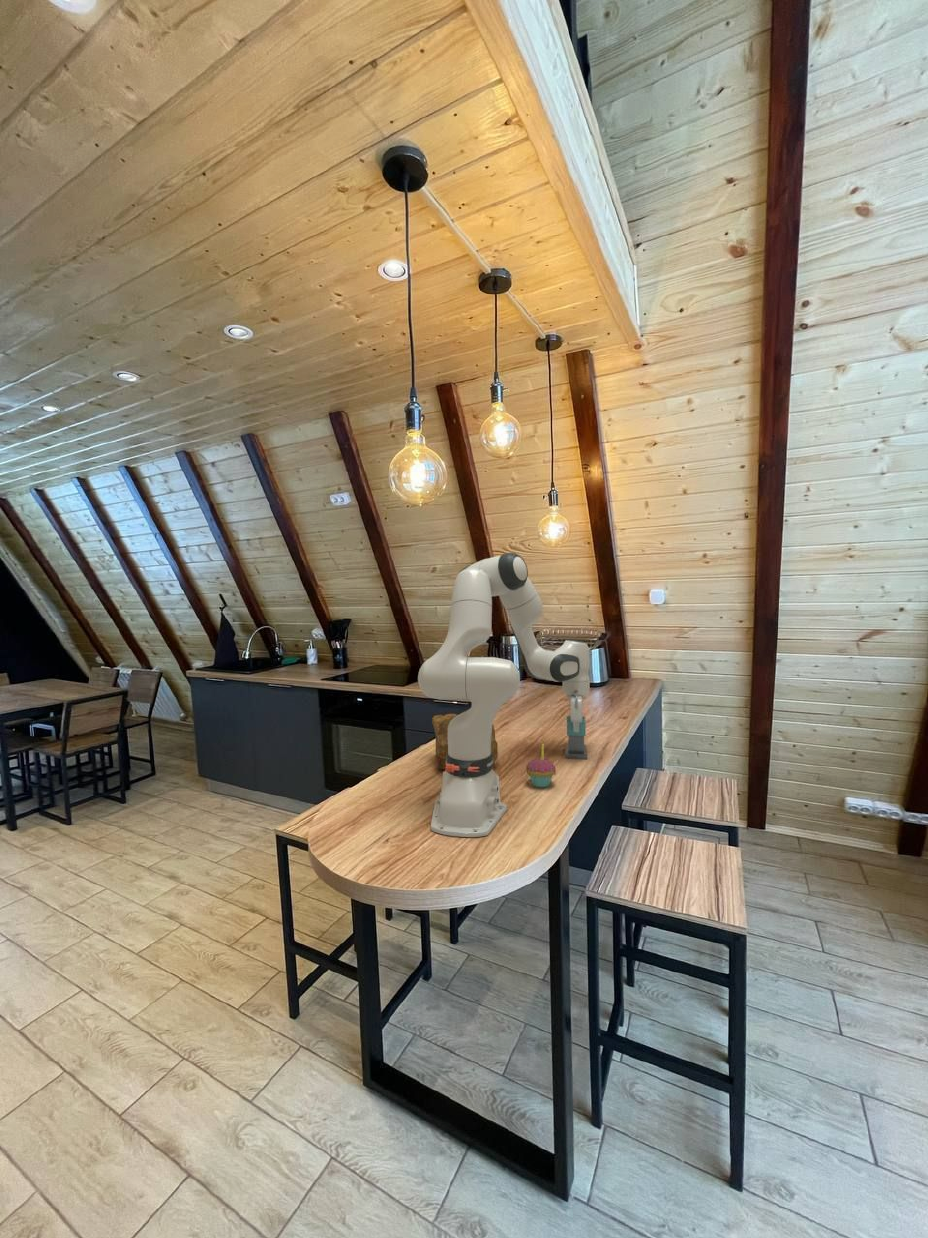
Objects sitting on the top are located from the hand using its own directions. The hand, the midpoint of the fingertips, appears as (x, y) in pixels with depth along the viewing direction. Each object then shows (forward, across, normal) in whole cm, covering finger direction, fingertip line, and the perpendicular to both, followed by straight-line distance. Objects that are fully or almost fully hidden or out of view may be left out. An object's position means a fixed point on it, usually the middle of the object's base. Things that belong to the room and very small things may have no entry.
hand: (576, 728), depth 165 cm
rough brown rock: (+9, -18, +37) cm, 42 cm away
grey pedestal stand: (+9, +2, 0) cm, 9 cm away
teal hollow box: (+2, 0, 0) cm, 2 cm away
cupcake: (+9, -28, +10) cm, 31 cm away
